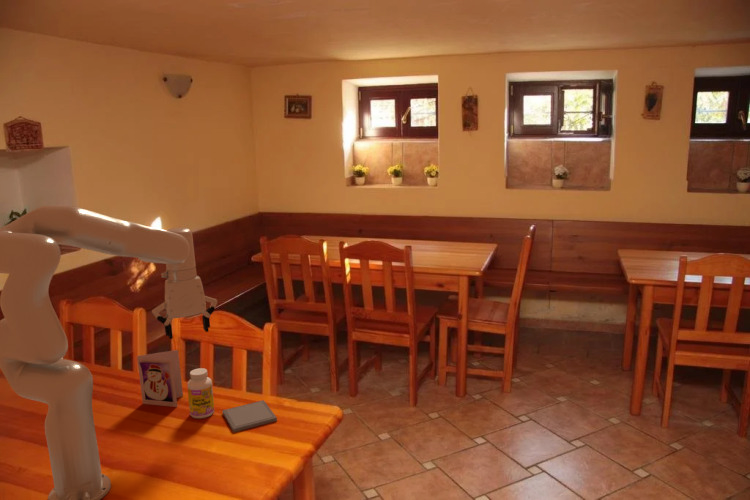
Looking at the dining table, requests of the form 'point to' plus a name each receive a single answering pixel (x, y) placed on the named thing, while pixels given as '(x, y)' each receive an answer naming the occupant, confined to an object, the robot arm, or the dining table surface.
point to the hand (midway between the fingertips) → (188, 334)
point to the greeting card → (160, 378)
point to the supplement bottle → (200, 394)
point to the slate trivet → (249, 416)
